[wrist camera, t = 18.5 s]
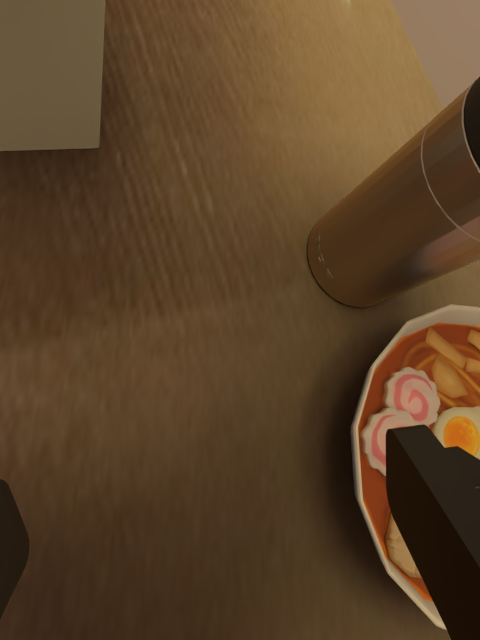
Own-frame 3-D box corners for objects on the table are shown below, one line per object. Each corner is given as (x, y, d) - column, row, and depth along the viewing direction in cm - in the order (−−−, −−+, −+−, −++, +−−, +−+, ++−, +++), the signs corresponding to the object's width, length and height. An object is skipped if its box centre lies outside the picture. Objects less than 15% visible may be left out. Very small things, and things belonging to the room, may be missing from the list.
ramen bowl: (322, 283, 38) (380, 246, 30) (521, 348, 44) (610, 331, 36) (276, 606, 30) (338, 664, 23) (524, 632, 36) (637, 686, 29)
